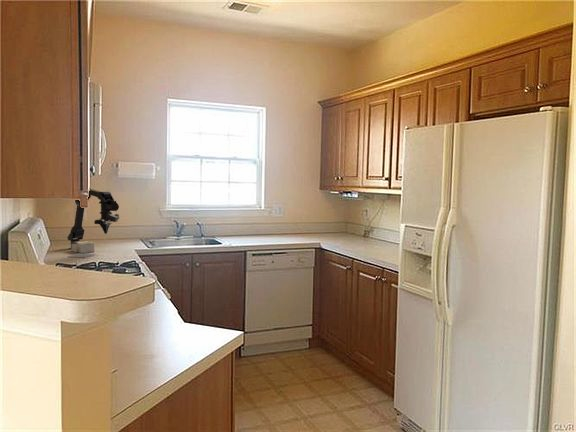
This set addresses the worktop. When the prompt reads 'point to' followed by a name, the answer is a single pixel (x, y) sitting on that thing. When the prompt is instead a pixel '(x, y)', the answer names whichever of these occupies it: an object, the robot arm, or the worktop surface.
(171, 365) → the worktop surface
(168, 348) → the worktop surface
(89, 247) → the coffee box
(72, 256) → the mat
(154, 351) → the worktop surface
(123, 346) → the worktop surface
